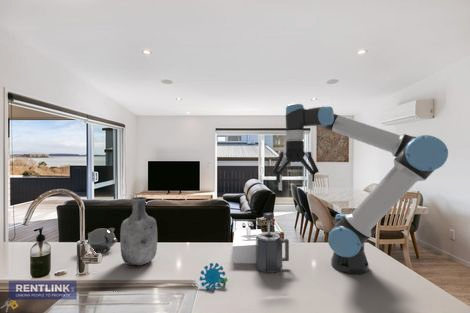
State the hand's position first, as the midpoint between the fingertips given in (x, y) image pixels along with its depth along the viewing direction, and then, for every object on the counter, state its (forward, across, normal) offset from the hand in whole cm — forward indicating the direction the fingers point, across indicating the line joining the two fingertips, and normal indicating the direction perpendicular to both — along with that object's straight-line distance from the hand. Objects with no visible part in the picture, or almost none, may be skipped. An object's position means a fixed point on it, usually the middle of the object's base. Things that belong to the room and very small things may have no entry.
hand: (295, 189), depth 116 cm
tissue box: (+34, +18, -19) cm, 43 cm away
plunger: (+24, +12, -1) cm, 27 cm away
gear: (+35, +36, +10) cm, 51 cm away
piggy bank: (+34, +92, -33) cm, 104 cm away
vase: (+34, +70, -15) cm, 79 cm away
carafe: (+34, +10, -1) cm, 35 cm away
